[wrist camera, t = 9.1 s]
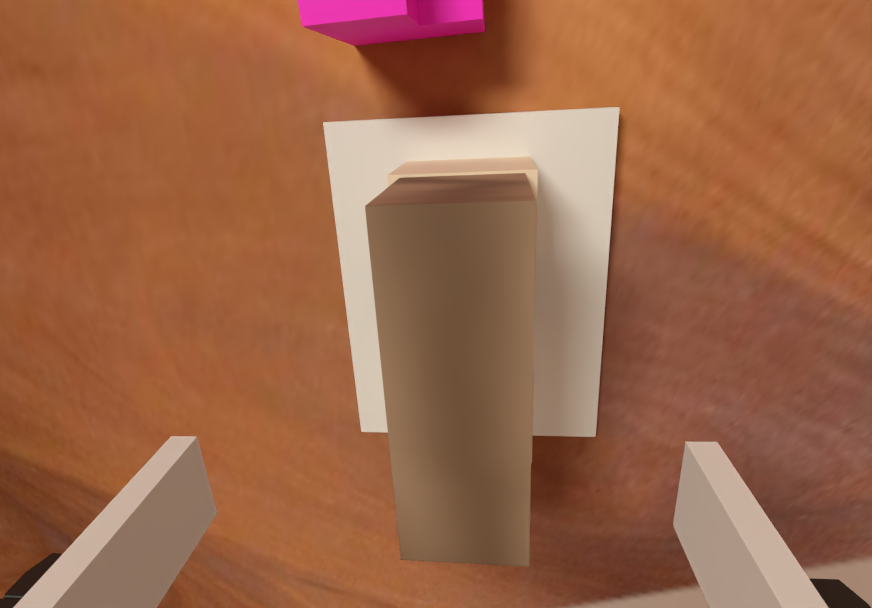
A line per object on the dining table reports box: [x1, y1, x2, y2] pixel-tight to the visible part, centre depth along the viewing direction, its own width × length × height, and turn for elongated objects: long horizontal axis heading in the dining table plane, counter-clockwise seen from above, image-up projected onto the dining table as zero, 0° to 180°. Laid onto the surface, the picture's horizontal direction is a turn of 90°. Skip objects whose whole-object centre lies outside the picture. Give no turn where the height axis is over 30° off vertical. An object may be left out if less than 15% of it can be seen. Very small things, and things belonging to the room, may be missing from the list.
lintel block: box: [365, 173, 536, 566], centre depth 20 cm, size 5×14×6 cm, turn 3°
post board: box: [323, 107, 620, 463], centre depth 26 cm, size 14×18×6 cm
